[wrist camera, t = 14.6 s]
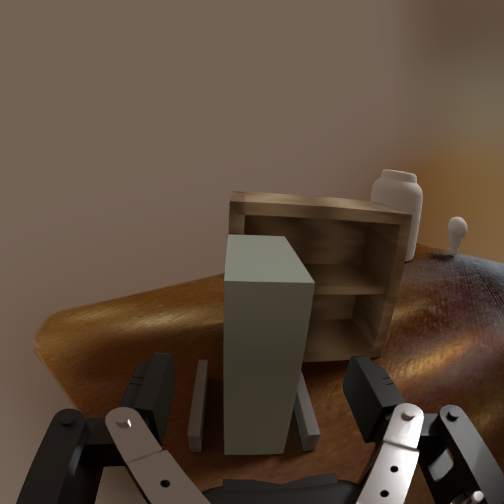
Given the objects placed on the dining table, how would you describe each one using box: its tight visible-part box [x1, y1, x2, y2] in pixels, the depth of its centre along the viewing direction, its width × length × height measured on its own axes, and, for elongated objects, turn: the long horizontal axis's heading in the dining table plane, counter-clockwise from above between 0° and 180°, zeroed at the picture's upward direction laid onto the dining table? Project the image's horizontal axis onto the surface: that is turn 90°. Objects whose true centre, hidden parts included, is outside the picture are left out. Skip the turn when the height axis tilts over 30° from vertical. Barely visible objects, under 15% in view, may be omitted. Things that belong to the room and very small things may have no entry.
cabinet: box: [187, 192, 412, 452], centre depth 24 cm, size 18×19×15 cm
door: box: [223, 234, 315, 455], centre depth 19 cm, size 5×8×13 cm, turn 3°
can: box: [371, 170, 423, 262], centre depth 63 cm, size 12×12×20 cm
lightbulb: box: [447, 217, 467, 256], centre depth 67 cm, size 6×6×11 cm
